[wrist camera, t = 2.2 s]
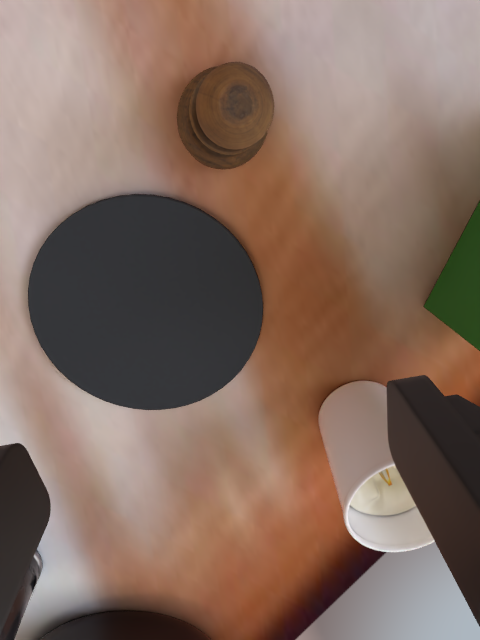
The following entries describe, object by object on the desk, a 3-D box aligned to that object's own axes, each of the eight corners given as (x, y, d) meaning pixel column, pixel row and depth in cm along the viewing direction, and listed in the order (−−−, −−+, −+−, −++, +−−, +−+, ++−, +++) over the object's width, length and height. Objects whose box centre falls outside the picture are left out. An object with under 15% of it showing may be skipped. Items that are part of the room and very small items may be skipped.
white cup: (295, 440, 44) (324, 541, 33) (333, 361, 41) (379, 445, 30) (378, 460, 46) (431, 561, 35) (421, 386, 42) (495, 474, 31)
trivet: (74, 420, 41) (71, 425, 41) (-7, 217, 33) (-11, 219, 32) (274, 386, 41) (276, 390, 41) (243, 174, 33) (244, 175, 32)
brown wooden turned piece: (186, 59, 30) (158, -34, 13) (274, 81, 31) (350, 18, 14) (173, 158, 32) (136, 182, 16) (255, 175, 33) (301, 214, 17)
